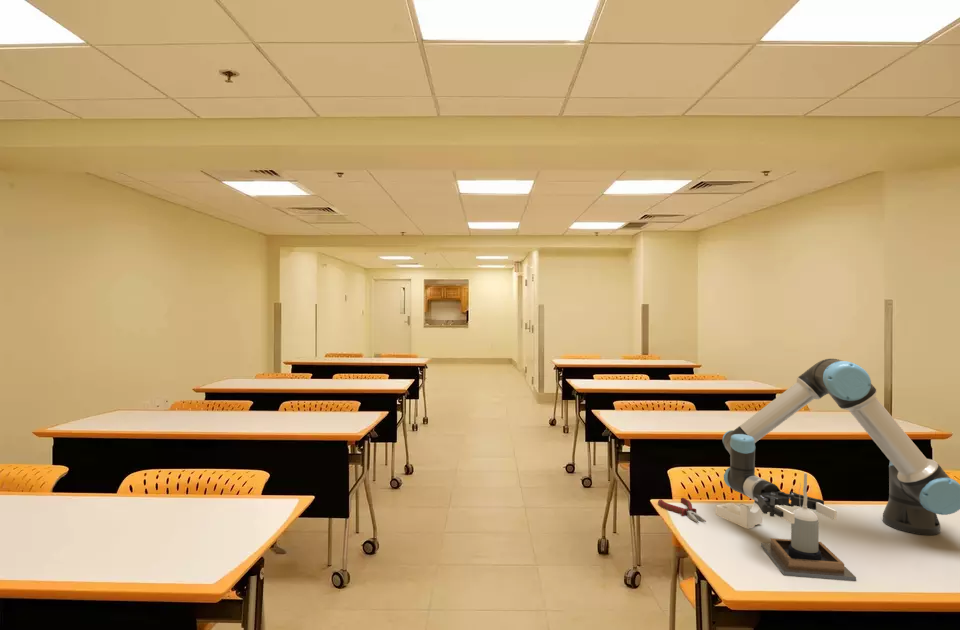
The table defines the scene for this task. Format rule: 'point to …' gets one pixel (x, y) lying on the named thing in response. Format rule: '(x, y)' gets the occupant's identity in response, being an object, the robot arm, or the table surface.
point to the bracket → (740, 514)
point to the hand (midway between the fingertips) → (814, 517)
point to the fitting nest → (807, 562)
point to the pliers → (682, 509)
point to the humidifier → (804, 532)
